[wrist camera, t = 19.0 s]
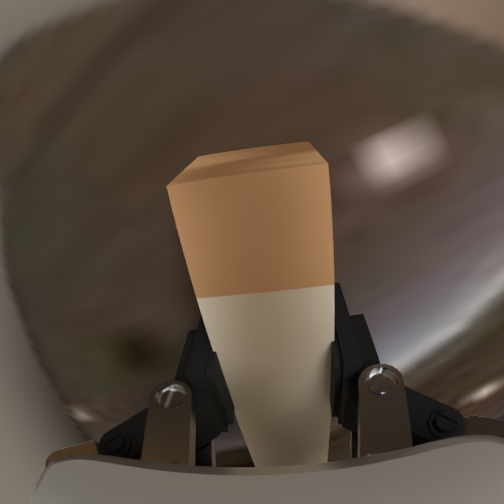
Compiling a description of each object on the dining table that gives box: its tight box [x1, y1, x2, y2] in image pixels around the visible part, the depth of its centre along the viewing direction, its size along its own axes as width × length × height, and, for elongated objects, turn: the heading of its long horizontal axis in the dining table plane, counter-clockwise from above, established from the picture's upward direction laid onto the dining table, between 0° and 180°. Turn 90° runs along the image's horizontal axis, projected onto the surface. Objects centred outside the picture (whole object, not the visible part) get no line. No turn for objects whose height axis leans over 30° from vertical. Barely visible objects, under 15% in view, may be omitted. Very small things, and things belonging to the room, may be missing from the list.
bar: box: [167, 141, 335, 467], centre depth 13 cm, size 4×22×4 cm, turn 9°
